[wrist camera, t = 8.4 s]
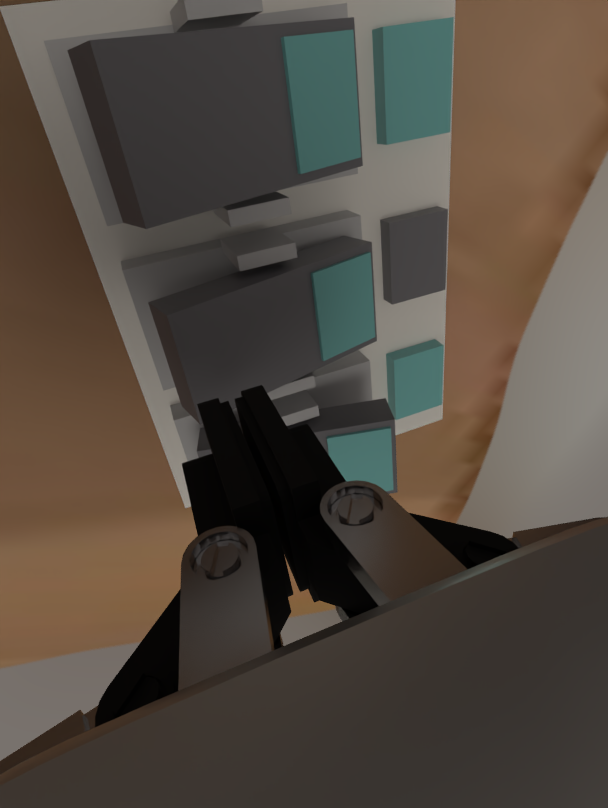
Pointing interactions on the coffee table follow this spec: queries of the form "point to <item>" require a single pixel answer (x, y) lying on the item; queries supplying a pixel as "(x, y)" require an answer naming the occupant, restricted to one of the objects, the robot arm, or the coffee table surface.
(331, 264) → the rocker middle
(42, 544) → the coffee table surface
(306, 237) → the switch unit
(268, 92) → the rocker nearest
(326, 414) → the rocker
